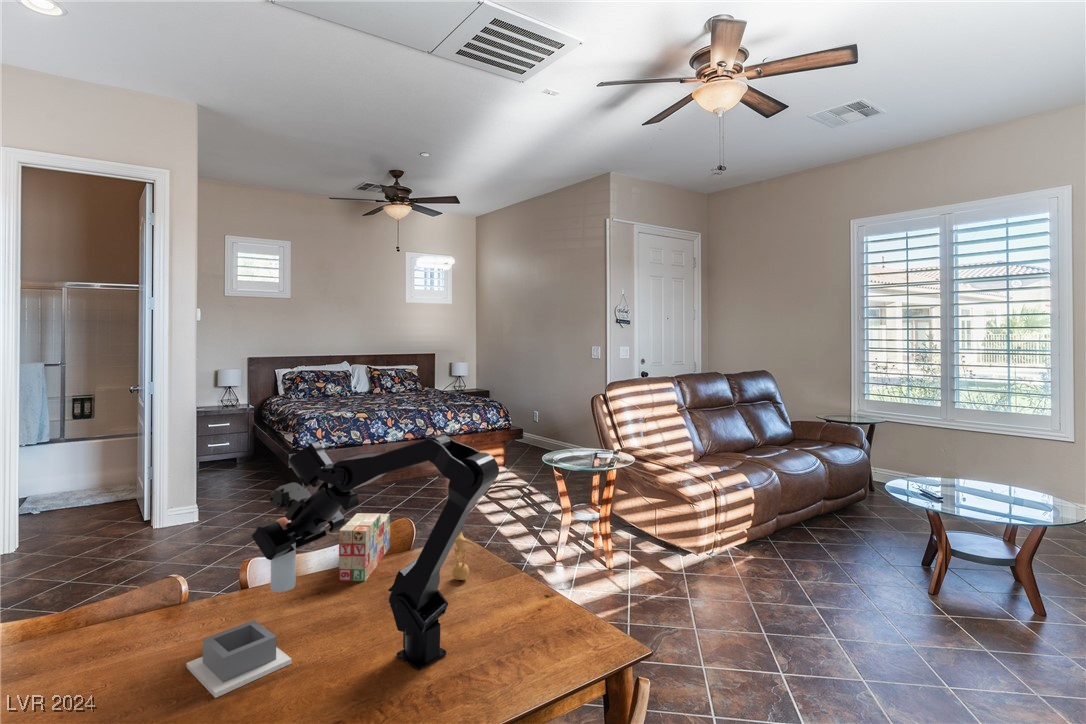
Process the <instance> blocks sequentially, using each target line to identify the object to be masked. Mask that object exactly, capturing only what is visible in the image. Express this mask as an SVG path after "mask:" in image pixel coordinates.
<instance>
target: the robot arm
mask: <svg viewBox="0 0 1086 724" xmlns="http://www.w3.org/2000/svg"><path fill="white" fill-rule="evenodd" d="M428 461H429V462H430V463H432V464H433V465H434V467H436V469H437V470H438V471H439V473H440V474H441V475H442V476H443V477H445V478H447V479H448V480H449V482H448V485H447V499H446V502H445V504H444V506H443V508H442V510H441V512H440V514H439V516H438V517H437V520H436V522H435V523H434V526H433V528H432V530H431V532H430V534H429V536H428V537H427V540H426V542H425V544H424V546H423V548H422V549H421V551H420V553H419V555H418V558H416V559H415V560H413V561H412V562H411V563H409V564H408V565H406V566H405V567H403V568H402V569H400V570H399V571H398V572H397V574H396V576H395V577H394V582H393V584H392V585H391V587H389V589H388V592H390V594H389V596H388V604H389V605H390V608H391V612H392V615H393V619H394V621H395V626H396V629H397V631H399V632H402V648H403V649H402V650H400V651H397V652H396V657H397V658H398V659H399V660H401V661H403V662H404V663H406V664H408V665H409V666H410V667H412V668H414V669H416V670H417V671H419V670H423V669H424V668H425V667H427V666H429V665H431V664H433V663H434V662H437V660H439V659H441V658H443V657H444V656H446V655H447V653H448V652H447V650H445V649H444V648H442V647H441V623H440V622H439V619H440V618H441V616H443V615H444V614H445V613H446V612H447V610H448V607H449V602H448V601H447V599H446V598H445V597H444V596H443V594H442V593H441V591H440V590H439V584H440V582H441V581H440V580H441V579H440V578H441V574H440V573H441V572H440V571H441V569H442V567H443V565H444V563H445V561H446V559H447V557H448V555H449V553H450V551H451V549H452V547H453V545H454V544H455V543H454V542H455V540H456V538H457V537H458V535H459V533H460V531H461V530H462V528H463V525H465V522H466V520H467V519H468V516H469V514H470V512H471V510H472V509H473V507H474V505H476V503H478V501H479V500H480V499H481V498H482V497H483V496H484V495H485V493H487V491H488V490H489V488H490V487H491V486H492V485H493V484H494V482H496V480H497V478H498V476H499V474H500V468H499V465H498V462H497V461H496V458H495V457H494V456H493V455H492V454H490V453H487V452H480V451H479V450H478V449H476V448H474V447H473V446H472V447H471V446H469V445H467V444H464V443H461V442H459V441H456V440H454V439H452V438H451V437H449V436H448V435H445V434H442V433H441V434H437V435H433V436H430V437H426V438H425V439H424V440H421V441H418V442H416V443H412V444H408V445H406V446H403V447H399V448H397V449H393V450H390V451H387V452H383V453H377V452H376V453H373V452H372V453H364V454H363V453H362V454H358V455H353V456H351V457H348V458H347V457H346V458H344V459H340V460H338V461H334V462H333V461H332V459H331V458H330V457H329V456H328V454H327V453H326V452H325V450H324V448H323V447H322V445H321V443H320V442H319V441H315V442H311V443H309V444H308V446H305V447H304V448H302V449H300V450H299V451H298V452H296V453H295V454H294V453H293V454H292V455H291V456H290V458H288V461H287V463H288V465H289V466H290V467H291V469H292V470H293V472H294V473H295V474H296V476H297V477H298V479H299V480H300V481H301V483H302V484H303V486H302V484H299V483H298V482H295V481H294V482H289V483H286V484H283V485H280V486H278V488H275V489H274V490H273V492H271V493H270V496H269V500H268V501H269V504H271V505H272V506H273V507H274V508H276V509H277V510H278V509H282V510H284V511H285V512H287V513H285V515H284V517H286V518H287V520H291V522H290V523H287V524H285V527H286V528H287V529H285V530H283V528H282V527H281V525H280V524H279V522H276V520H272V521H268V522H267V523H263V524H261V525H259V526H256V528H255V529H254V530H253V531H252V532H251V538H252V539H253V541H254V542H255V544H256V545H257V547H258V548H259V550H260V552H262V554H263V555H264V557H265V559H266V560H268V561H271V560H273V559H275V558H277V557H279V556H281V555H285V554H287V553H289V552H291V551H294V548H293V547H292V545H293V544H295V543H296V549H298V548H300V547H303V546H305V545H307V544H310V543H313V542H316V541H317V540H321V539H322V538H324V537H326V536H327V533H328V532H329V533H330V534H332V533H334V532H336V531H339V530H340V529H341V528H342V527H343V526H345V516H344V515H343V514H342V512H341V511H340V510H341V508H343V510H344V511H345V512H346V511H349V510H352V509H354V508H356V507H359V505H360V500H359V497H358V495H359V494H358V493H357V492H354V491H353V490H355V489H357V488H361V487H363V486H366V485H369V484H370V483H372V482H374V481H376V480H378V479H379V478H382V477H383V476H384V475H386V474H388V473H391V472H395V471H398V470H402V469H405V468H409V467H411V466H415V465H418V464H421V463H426V462H428ZM310 486H312V488H317V487H318V488H317V489H316V490H315V491H314V492H313V493H312V494H311V492H310V491H309V490H308V489H306V488H307V487H310ZM326 524H329V529H328V532H327V531H326V527H325V525H326ZM291 535H292V536H291Z"/></svg>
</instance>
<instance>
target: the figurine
mask: <svg viewBox="0 0 1086 724" xmlns="http://www.w3.org/2000/svg"><path fill="white" fill-rule="evenodd" d="M454 544H455V546H456V547H455V548H454V555H455V560H456V564H455V565H453V567H452V570H451V573H452V577H453V578H454V579H455V580H456V581H458V580H462V581H465V580H466V579H467V578H468V576H469V575H470V568H469V566H468V565H467V564H466V563H465V560H466V559H467V558H466V555H467V548H466V547H465V544H469V545H471V546H473V547H474V549H475V550H476V552H479V547H477V546H476V544H475V542H473V541H471V540H469V539H467V538H466V537H464V535H463V532H459V534H458V536H457V538H456V540H455V542H454ZM460 553H461V554H462V555H463V556H462V561H461V562H460V561H459V559H460V558H459V554H460Z"/></svg>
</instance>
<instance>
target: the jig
mask: <svg viewBox="0 0 1086 724" xmlns="http://www.w3.org/2000/svg"><path fill="white" fill-rule="evenodd" d="M292 662H293V661H292V658H291V657H290V655H289V656H288V654H287V653H285V652H284V651H282V650H281V649H280V648H279V647H277V635H275V634H274V633H273V632H271V631H269V630H268V629H267V628H265V626H263V625H262V624H261V623H259V622H258V621H256V620H255V619H253V620H251V621H248V622H246V623H244V624H243V623H242V624H240V625H238V626H234V627H231V628H229V629H227V630H224V631H221V632H218V633H216V634H213V635H210V636H207V637H204V638H203V639H202V656H200V657H198V658H195V659H193V660H190V661H188V662H186V668H187V670H188V671H189V672H190V673H191V674H192V676H194V677H195V679H197V680H198V681H199V683H201V684H202V686H203V687H205V689H206V690H207V691H208V692H209V693H210V694H211V695H212V696H213V697H214V698H215V699H216V698H218V697H221V696H223V695H226V694H227V693H229V692H231V691H235V690H236V689H239V688H240V687H244V686H245V685H247V684H249V683H252V682H253V681H256V680H258V679H260V678H262V677H265V676H267V675H270V674H272V673H273V672H277V671H278V670H281V669H282V668H284V667H287V666H289V665H291V664H292Z"/></svg>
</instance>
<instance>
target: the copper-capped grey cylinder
mask: <svg viewBox="0 0 1086 724" xmlns="http://www.w3.org/2000/svg"><path fill="white" fill-rule="evenodd" d="M275 521H276V522H279V524H280V525H281V527H282V528H283V530H285V529H287V528H286V527H285V524H287V523H290V522H291V520H287V518H286V517H285V516H283V517H280V518H278V519H277V520H275ZM291 536H292V535H291ZM292 547H293V548H294V551H291V552H289V553H287V554H285V555H281V556H279V557H277V558H275V559H273V560H270V591H271V592H273V593H286V592H289V591H291V590H293V589H294V588H295V587H296V574H297V572H296V571H297V570H296V569H297V567H296V566H297V564H296V563H297V562H296V561H297V560H296V559H297V558H296V557H297V555H296V553H297V548H296V543H295V544H293V545H292Z"/></svg>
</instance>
